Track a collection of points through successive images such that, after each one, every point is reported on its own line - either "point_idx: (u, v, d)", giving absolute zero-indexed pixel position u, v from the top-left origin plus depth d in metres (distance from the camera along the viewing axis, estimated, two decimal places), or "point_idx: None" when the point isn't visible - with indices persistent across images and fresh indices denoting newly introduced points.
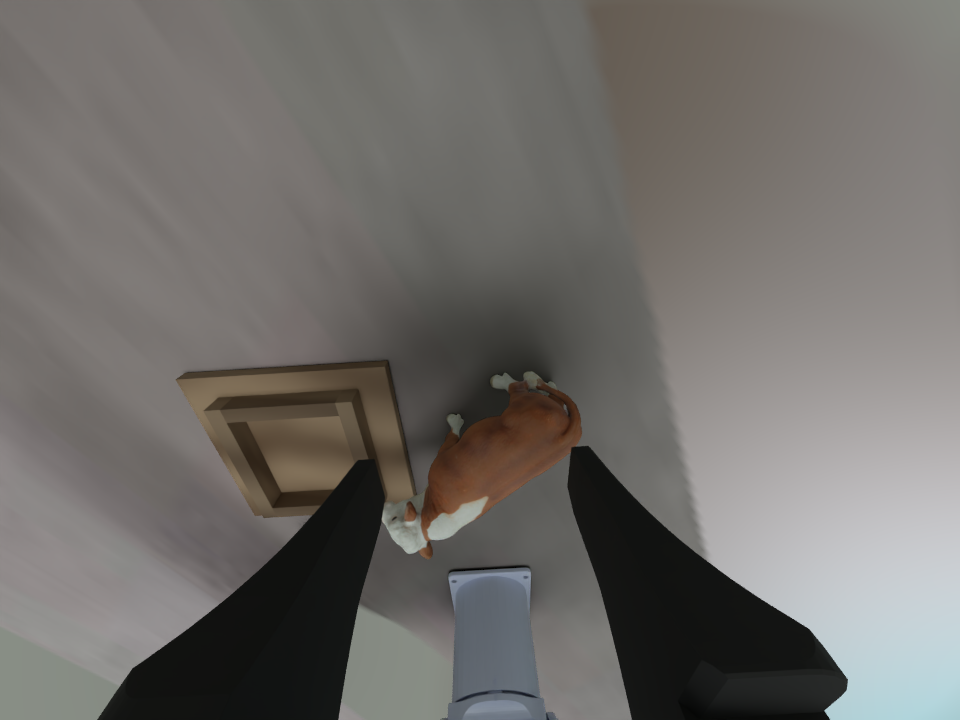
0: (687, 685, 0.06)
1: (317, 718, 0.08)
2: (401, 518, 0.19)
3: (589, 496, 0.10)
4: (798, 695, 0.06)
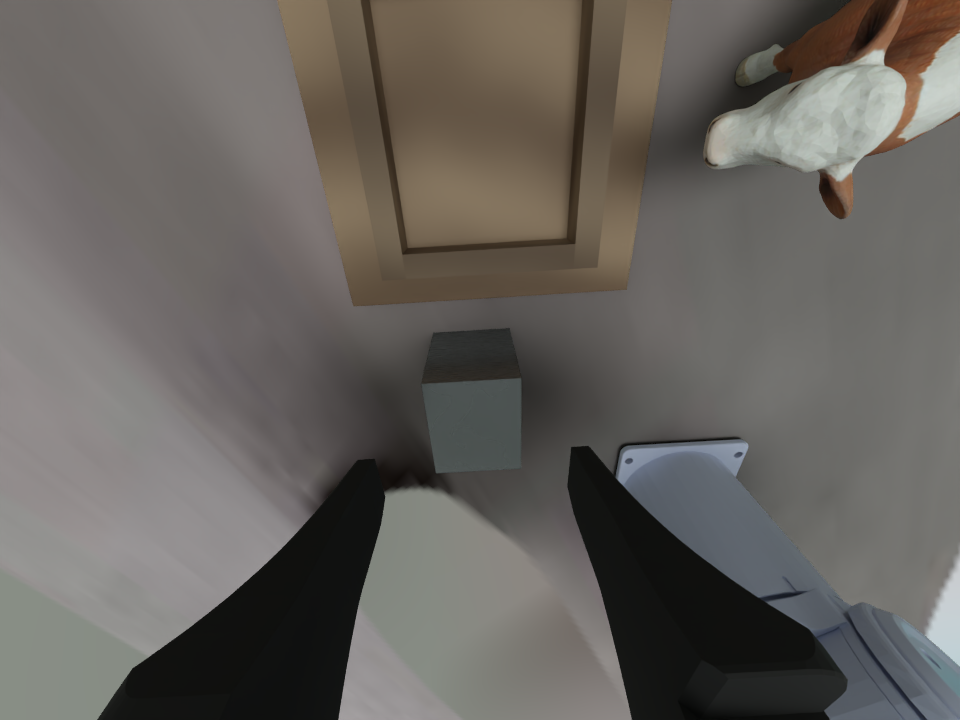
0: (687, 685, 0.06)
1: (317, 718, 0.08)
2: (830, 69, 0.07)
3: (589, 497, 0.10)
4: (798, 695, 0.06)
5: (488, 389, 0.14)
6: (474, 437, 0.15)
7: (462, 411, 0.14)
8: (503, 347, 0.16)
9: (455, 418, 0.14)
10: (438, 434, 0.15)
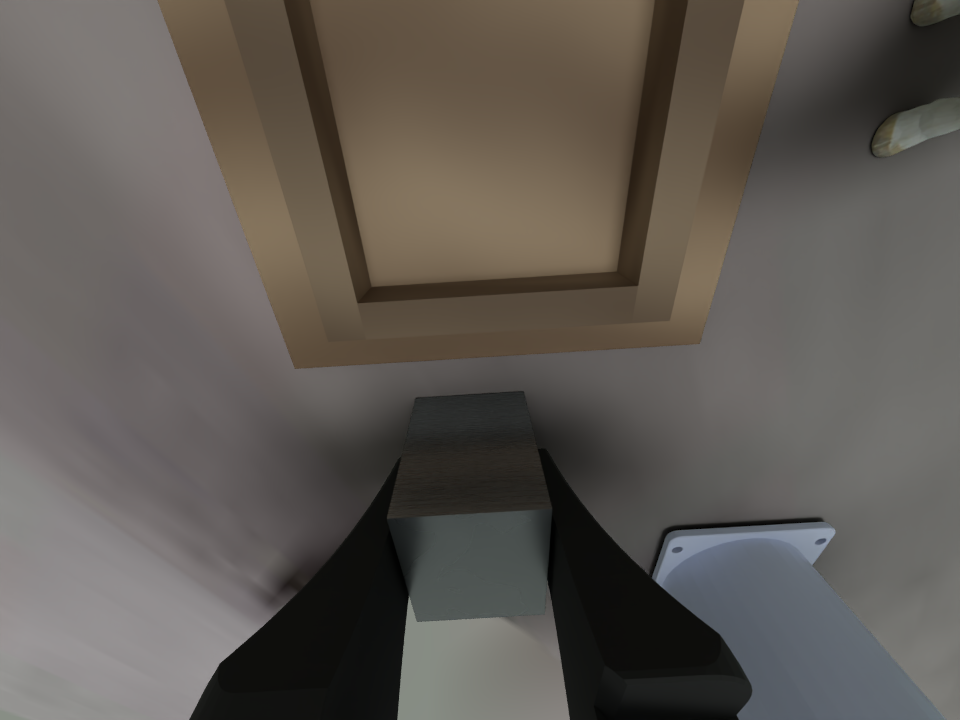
0: (599, 690, 0.06)
1: (384, 714, 0.08)
2: None
3: None
4: (704, 700, 0.06)
5: (498, 524, 0.08)
6: (474, 581, 0.10)
7: (455, 550, 0.09)
8: (517, 432, 0.11)
9: (444, 559, 0.09)
10: (417, 579, 0.09)
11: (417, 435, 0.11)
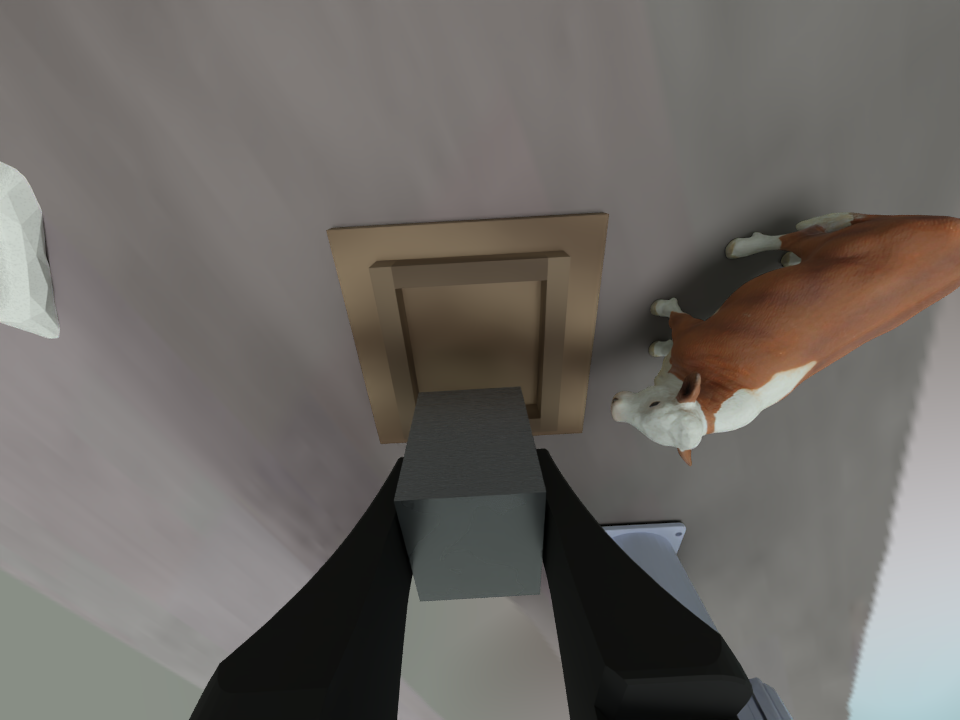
0: (599, 690, 0.06)
1: (383, 714, 0.08)
2: (669, 401, 0.13)
3: None
4: (704, 701, 0.06)
5: (497, 506, 0.09)
6: (474, 561, 0.10)
7: (457, 532, 0.10)
8: (514, 423, 0.11)
9: (446, 540, 0.10)
10: (421, 559, 0.10)
11: (420, 426, 0.11)
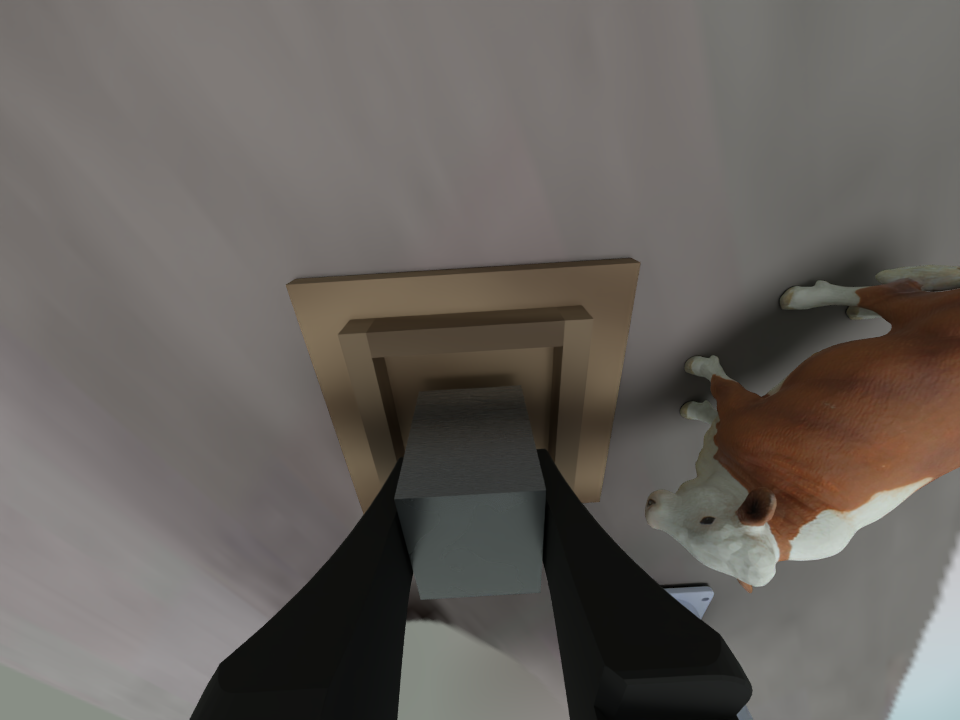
0: (599, 690, 0.06)
1: (384, 714, 0.08)
2: (728, 519, 0.10)
3: None
4: (704, 700, 0.06)
5: (497, 504, 0.09)
6: (474, 560, 0.10)
7: (457, 530, 0.10)
8: (514, 422, 0.11)
9: (446, 538, 0.10)
10: (422, 558, 0.10)
11: (421, 425, 0.11)
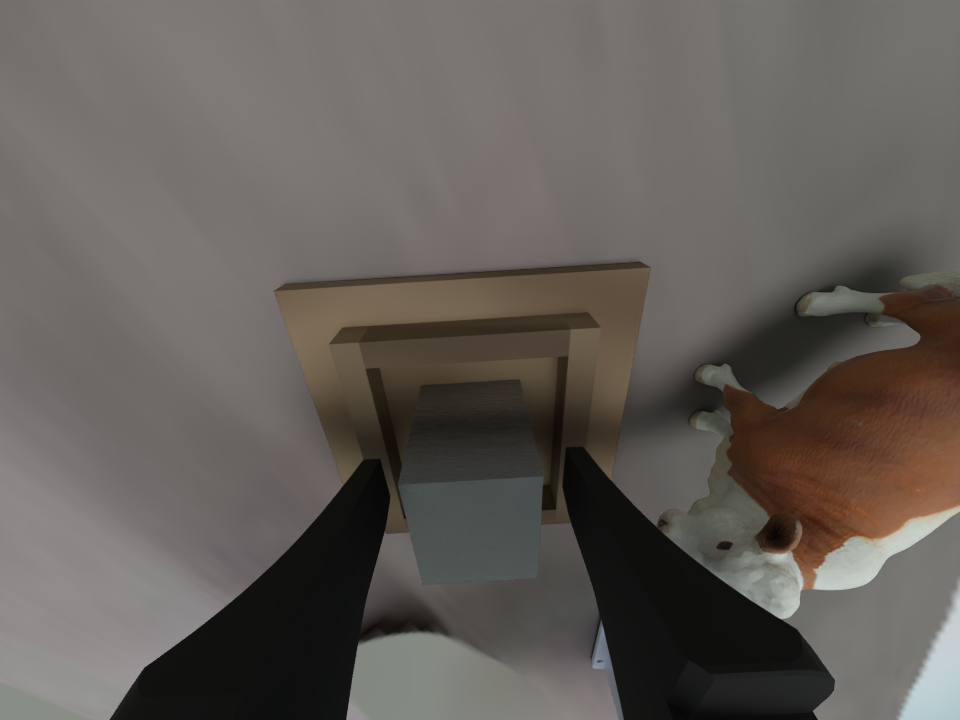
0: (675, 686, 0.06)
1: (326, 718, 0.08)
2: (747, 545, 0.09)
3: (582, 497, 0.10)
4: (786, 696, 0.06)
5: (496, 490, 0.09)
6: (474, 545, 0.11)
7: (458, 515, 0.10)
8: (513, 414, 0.12)
9: (448, 524, 0.10)
10: (424, 543, 0.11)
11: (423, 417, 0.12)
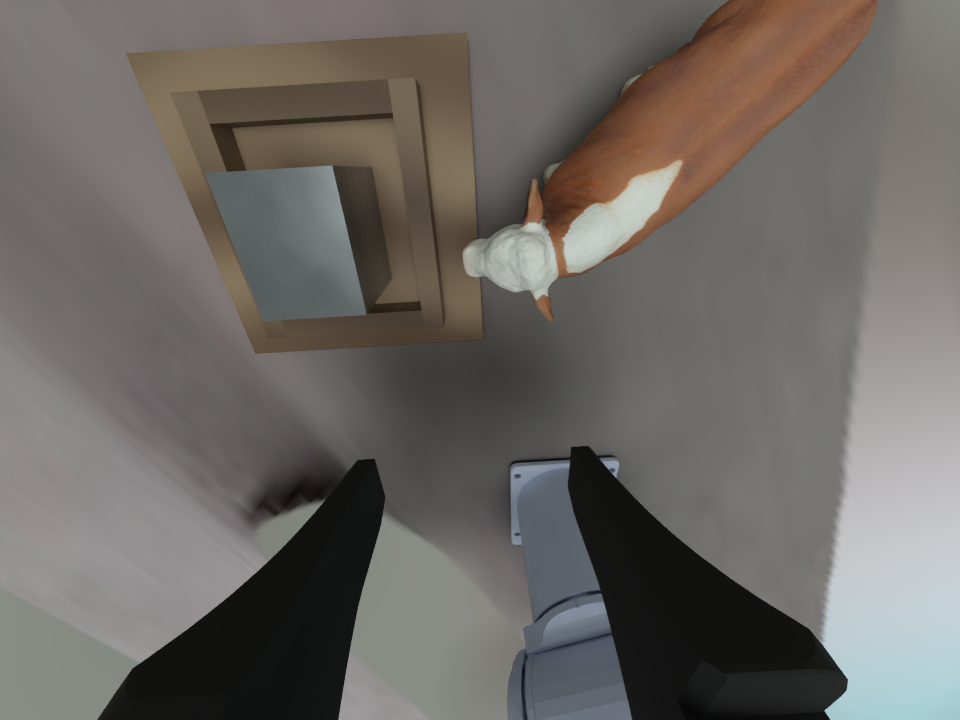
0: (687, 685, 0.06)
1: (317, 718, 0.08)
2: (512, 228, 0.11)
3: (589, 496, 0.10)
4: (798, 695, 0.06)
5: (295, 184, 0.11)
6: (296, 263, 0.12)
7: (269, 219, 0.11)
8: None
9: (263, 231, 0.11)
10: (249, 259, 0.12)
11: None
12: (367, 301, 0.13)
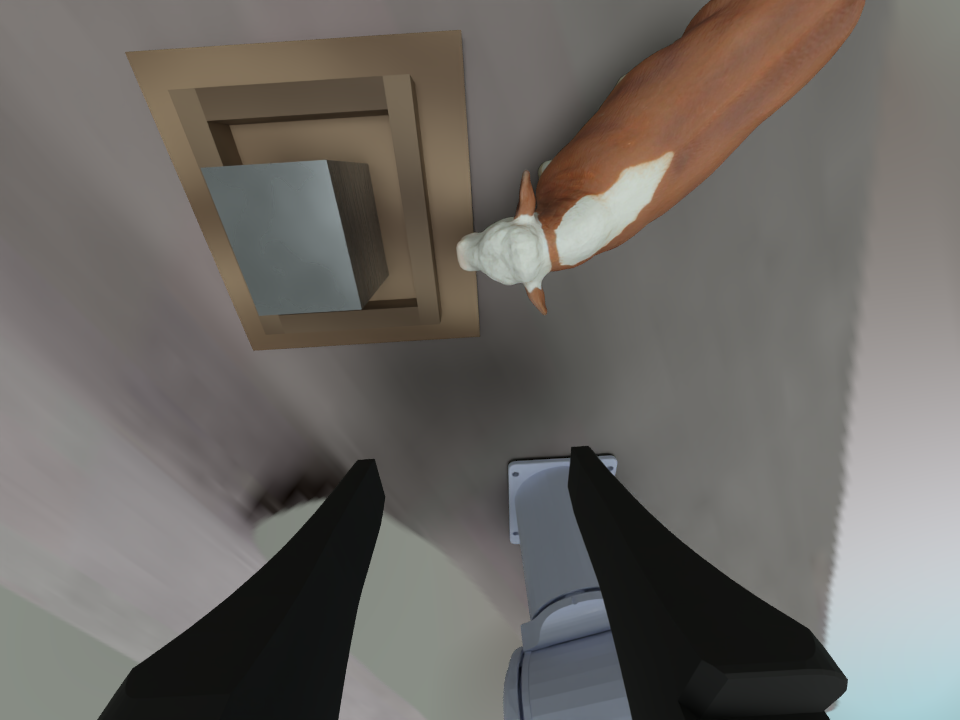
0: (687, 685, 0.06)
1: (317, 718, 0.08)
2: (505, 221, 0.11)
3: (589, 496, 0.10)
4: (798, 695, 0.06)
5: (289, 178, 0.11)
6: (291, 258, 0.12)
7: (265, 214, 0.11)
8: None
9: (259, 225, 0.12)
10: (245, 253, 0.12)
11: None
12: (362, 296, 0.13)
